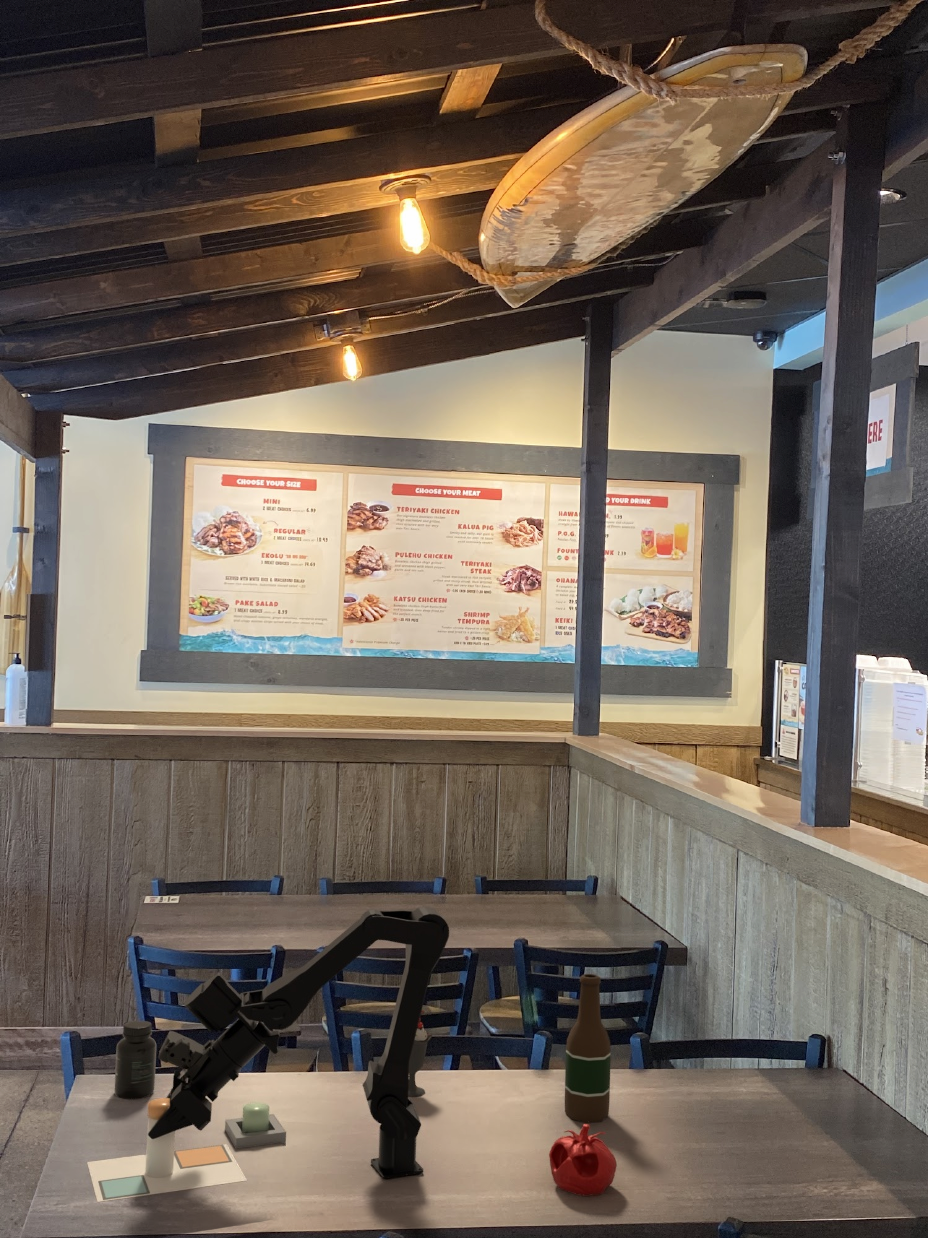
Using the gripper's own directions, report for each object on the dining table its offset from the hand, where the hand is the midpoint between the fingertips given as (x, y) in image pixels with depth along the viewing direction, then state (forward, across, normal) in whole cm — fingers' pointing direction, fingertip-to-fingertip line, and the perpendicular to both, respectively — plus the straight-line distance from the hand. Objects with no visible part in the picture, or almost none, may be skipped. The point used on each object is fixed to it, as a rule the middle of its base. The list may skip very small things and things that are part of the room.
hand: (151, 1130), depth 172 cm
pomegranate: (-40, +9, +50) cm, 65 cm away
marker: (+3, 0, +5) cm, 6 cm away
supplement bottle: (+9, -36, +1) cm, 38 cm away
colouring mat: (+3, 0, +7) cm, 7 cm away
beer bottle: (-46, -18, +56) cm, 75 cm away
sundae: (-26, -32, +36) cm, 55 cm away
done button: (-7, -12, +15) cm, 21 cm away
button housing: (-6, -12, +16) cm, 21 cm away
